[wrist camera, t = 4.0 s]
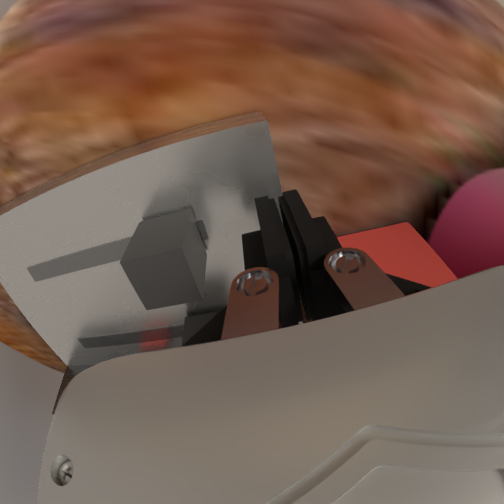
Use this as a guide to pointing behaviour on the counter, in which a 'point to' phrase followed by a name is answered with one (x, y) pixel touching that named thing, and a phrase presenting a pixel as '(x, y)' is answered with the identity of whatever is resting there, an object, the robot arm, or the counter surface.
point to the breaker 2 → (195, 324)
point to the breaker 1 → (166, 261)
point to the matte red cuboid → (401, 254)
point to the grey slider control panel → (121, 231)
